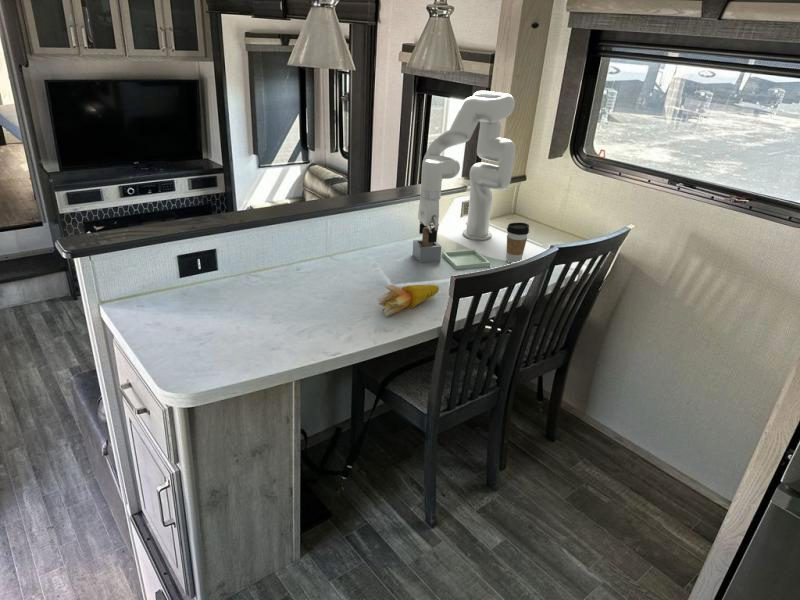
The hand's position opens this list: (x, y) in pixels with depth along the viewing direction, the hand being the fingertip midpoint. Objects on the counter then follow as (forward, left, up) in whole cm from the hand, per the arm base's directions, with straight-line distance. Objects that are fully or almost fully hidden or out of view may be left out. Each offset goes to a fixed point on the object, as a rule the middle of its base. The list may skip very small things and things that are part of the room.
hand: (427, 237), depth 220 cm
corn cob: (+37, -19, -10) cm, 42 cm away
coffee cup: (+8, +34, -9) cm, 36 cm away
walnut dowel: (0, 0, -8) cm, 8 cm away
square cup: (0, 0, -9) cm, 9 cm away
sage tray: (+6, +14, -9) cm, 18 cm away
